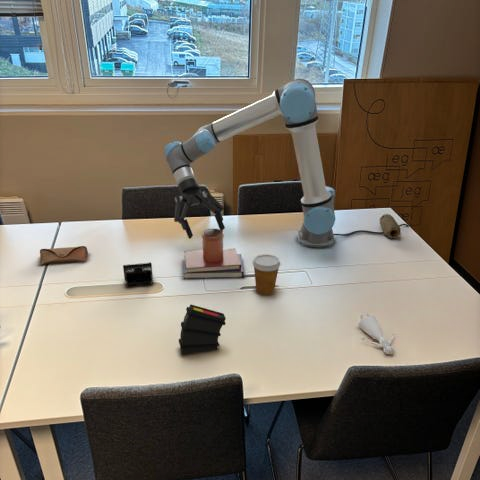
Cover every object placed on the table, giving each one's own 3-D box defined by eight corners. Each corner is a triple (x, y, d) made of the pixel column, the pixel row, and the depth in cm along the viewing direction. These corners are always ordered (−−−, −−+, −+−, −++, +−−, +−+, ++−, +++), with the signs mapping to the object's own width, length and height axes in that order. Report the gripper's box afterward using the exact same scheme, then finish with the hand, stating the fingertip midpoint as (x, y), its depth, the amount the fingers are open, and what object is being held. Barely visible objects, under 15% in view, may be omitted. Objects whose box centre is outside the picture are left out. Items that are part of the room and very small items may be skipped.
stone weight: (375, 226, 228) (377, 212, 225) (390, 226, 229) (392, 212, 225) (386, 240, 216) (389, 225, 212) (402, 240, 216) (405, 225, 213)
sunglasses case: (38, 265, 190) (36, 247, 190) (41, 266, 197) (39, 249, 197) (87, 261, 194) (85, 243, 194) (89, 262, 201) (87, 246, 200)
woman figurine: (382, 309, 160) (411, 344, 146) (379, 320, 162) (407, 356, 148) (348, 313, 157) (374, 349, 143) (346, 324, 160) (371, 361, 146)
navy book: (241, 259, 198) (241, 253, 196) (243, 278, 185) (243, 271, 184) (184, 260, 197) (184, 254, 195) (183, 279, 184) (183, 272, 183)
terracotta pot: (223, 253, 192) (223, 228, 186) (224, 262, 185) (224, 236, 180) (202, 253, 191) (201, 228, 186) (202, 262, 185) (201, 237, 179)
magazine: (168, 345, 146) (188, 303, 141) (208, 355, 152) (229, 314, 146) (170, 353, 143) (191, 310, 138) (211, 362, 149) (232, 321, 143)
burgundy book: (235, 253, 197) (235, 248, 196) (241, 269, 185) (241, 264, 184) (184, 256, 194) (183, 251, 193) (186, 273, 182) (186, 268, 181)
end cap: (152, 275, 186) (150, 259, 182) (154, 285, 180) (152, 268, 176) (124, 278, 184) (122, 262, 180) (125, 288, 178) (123, 271, 174)
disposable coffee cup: (278, 284, 181) (280, 254, 175) (278, 298, 174) (280, 267, 167) (252, 283, 182) (253, 253, 176) (250, 296, 174) (251, 265, 168)
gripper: (211, 182, 198) (231, 230, 196) (153, 192, 186) (174, 244, 184) (218, 172, 191) (239, 222, 189) (158, 182, 180) (180, 236, 177)
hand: (207, 233), depth 187 cm, fingers open, 13 cm apart
